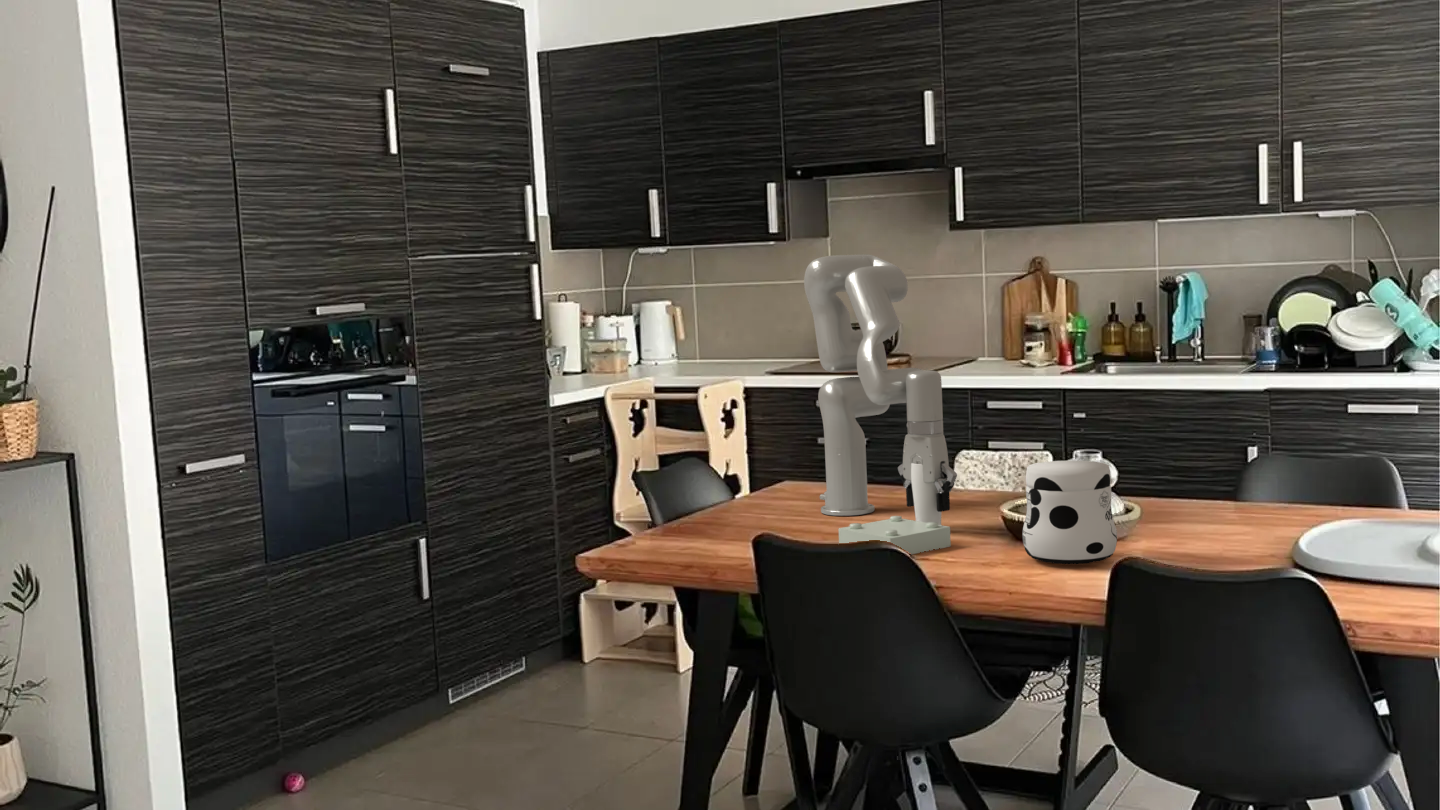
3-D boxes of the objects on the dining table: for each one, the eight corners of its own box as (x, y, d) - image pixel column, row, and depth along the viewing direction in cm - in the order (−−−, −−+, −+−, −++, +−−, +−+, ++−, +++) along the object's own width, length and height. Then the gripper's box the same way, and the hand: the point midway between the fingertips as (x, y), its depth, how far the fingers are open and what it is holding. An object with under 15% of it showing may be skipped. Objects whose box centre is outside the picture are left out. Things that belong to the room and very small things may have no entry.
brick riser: (839, 547, 285) (838, 524, 284) (897, 536, 294) (896, 513, 293) (891, 558, 272) (890, 534, 271) (950, 546, 281) (949, 522, 280)
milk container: (1137, 559, 260) (1135, 465, 258) (1072, 574, 251) (1070, 476, 249) (1067, 547, 274) (1065, 457, 273) (1004, 560, 265) (1001, 467, 263)
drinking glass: (941, 534, 293) (939, 464, 292) (909, 534, 295) (907, 464, 294) (947, 528, 299) (945, 459, 298) (916, 528, 302) (914, 459, 300)
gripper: (884, 427, 300) (887, 506, 302) (940, 433, 286) (943, 515, 288) (910, 424, 304) (913, 501, 306) (966, 429, 290) (969, 510, 292)
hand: (928, 508), depth 297 cm, fingers open, 9 cm apart
